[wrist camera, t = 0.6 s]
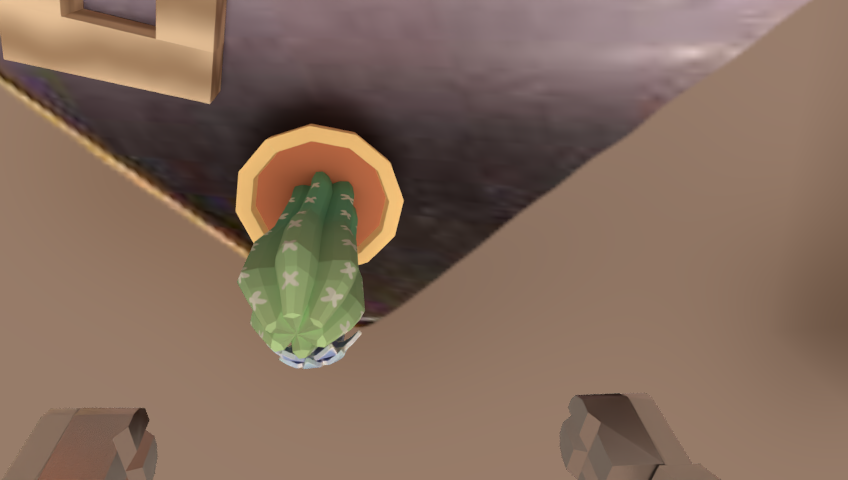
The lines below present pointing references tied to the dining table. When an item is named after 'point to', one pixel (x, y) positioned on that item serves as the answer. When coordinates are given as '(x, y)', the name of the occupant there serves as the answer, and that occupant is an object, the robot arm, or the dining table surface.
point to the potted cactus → (313, 237)
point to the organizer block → (122, 44)
